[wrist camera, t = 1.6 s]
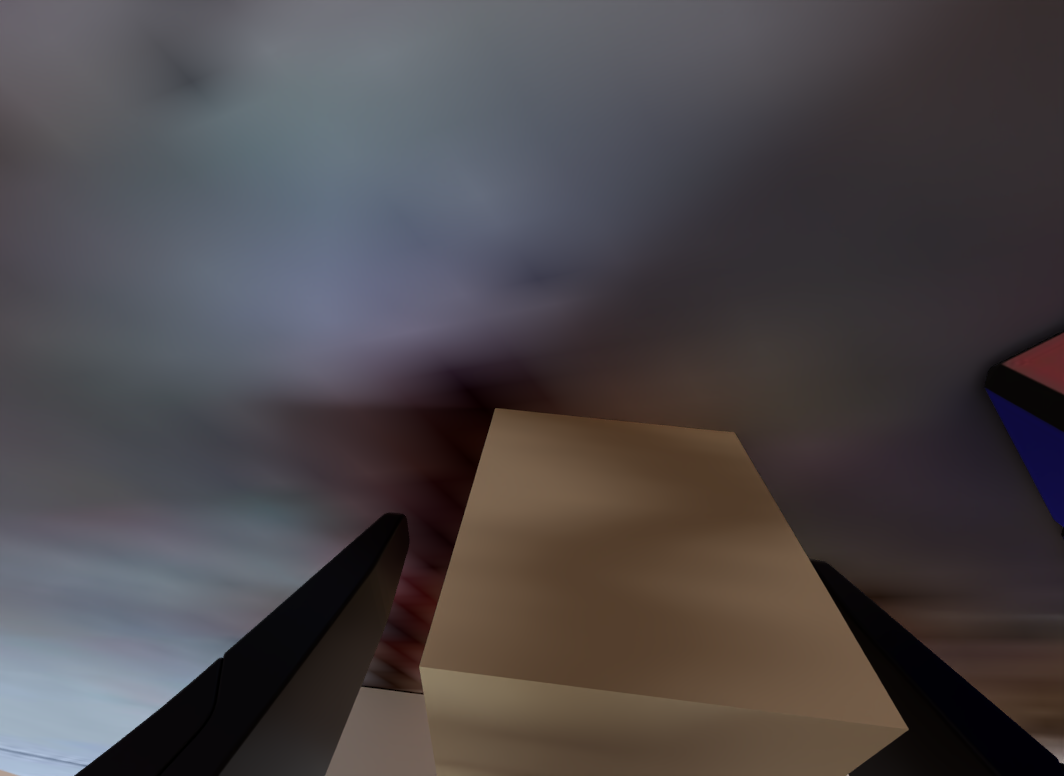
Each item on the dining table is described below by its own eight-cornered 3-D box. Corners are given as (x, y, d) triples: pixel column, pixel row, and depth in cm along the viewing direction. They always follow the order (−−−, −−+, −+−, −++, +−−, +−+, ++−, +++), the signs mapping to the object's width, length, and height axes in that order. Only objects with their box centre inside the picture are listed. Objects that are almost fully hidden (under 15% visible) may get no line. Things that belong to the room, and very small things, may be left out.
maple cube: (733, 430, 8) (908, 729, 4) (673, 575, 11) (740, 852, 7) (495, 405, 8) (418, 666, 4) (492, 554, 11) (442, 810, 7)
